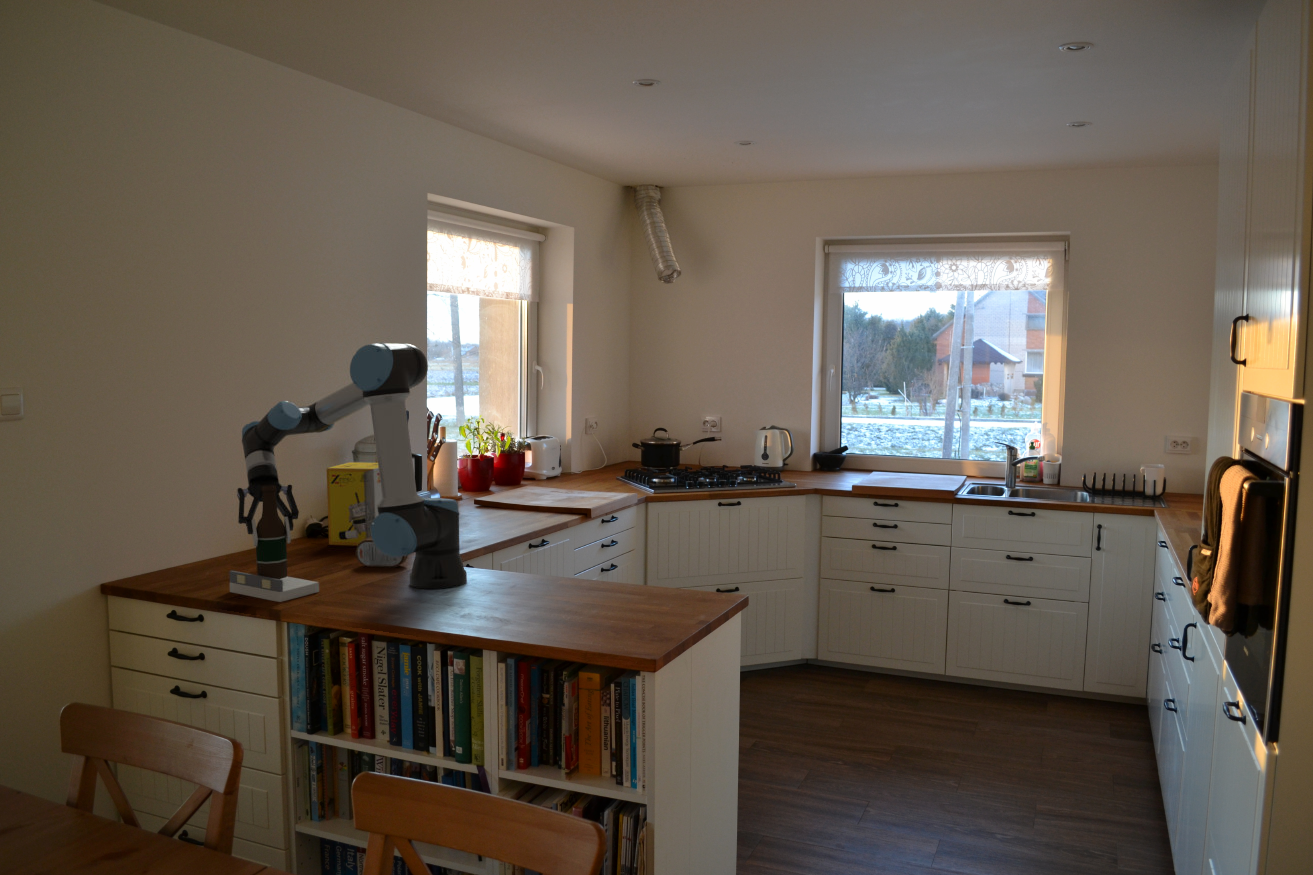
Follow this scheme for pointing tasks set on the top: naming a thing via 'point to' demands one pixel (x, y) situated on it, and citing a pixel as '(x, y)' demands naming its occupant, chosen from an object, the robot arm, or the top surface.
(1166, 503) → the top surface
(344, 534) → the packaging box
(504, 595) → the top surface
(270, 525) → the beer bottle
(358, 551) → the tin
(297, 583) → the grey slab
